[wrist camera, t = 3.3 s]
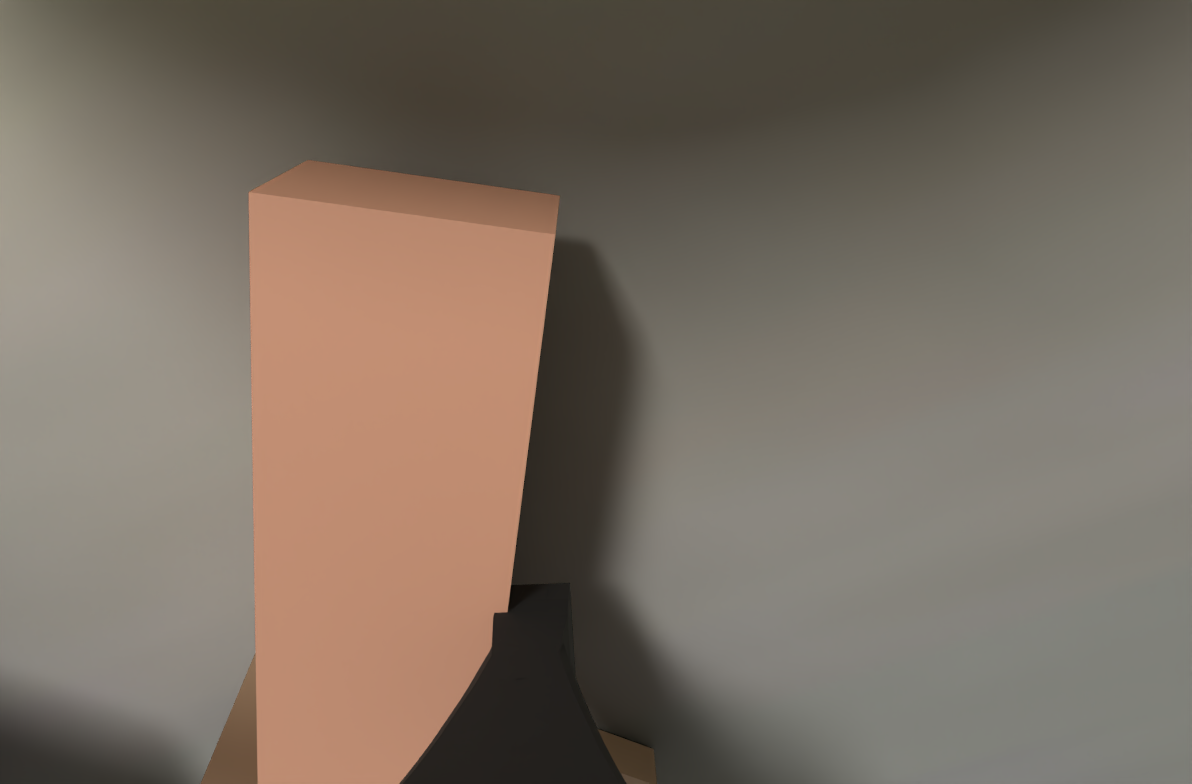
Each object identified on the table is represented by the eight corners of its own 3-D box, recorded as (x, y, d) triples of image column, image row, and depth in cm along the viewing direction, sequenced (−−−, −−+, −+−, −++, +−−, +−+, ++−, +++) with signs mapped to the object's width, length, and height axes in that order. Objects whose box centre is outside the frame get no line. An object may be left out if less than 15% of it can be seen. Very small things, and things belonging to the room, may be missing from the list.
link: (491, 955, 16) (470, 1165, 13) (271, 937, 16) (199, 1148, 13) (600, 201, 10) (608, 275, 8) (265, 153, 10) (137, 210, 7)
